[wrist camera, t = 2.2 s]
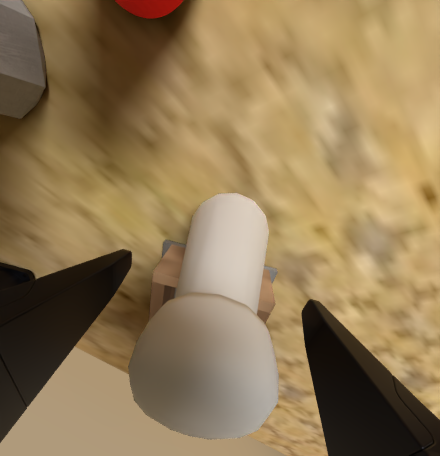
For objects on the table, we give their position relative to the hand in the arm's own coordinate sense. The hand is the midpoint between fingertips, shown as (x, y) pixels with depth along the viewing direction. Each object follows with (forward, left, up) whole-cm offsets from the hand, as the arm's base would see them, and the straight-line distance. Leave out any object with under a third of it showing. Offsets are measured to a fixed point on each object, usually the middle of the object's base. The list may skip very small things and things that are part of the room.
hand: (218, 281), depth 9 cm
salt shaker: (0, 0, -8) cm, 8 cm away
